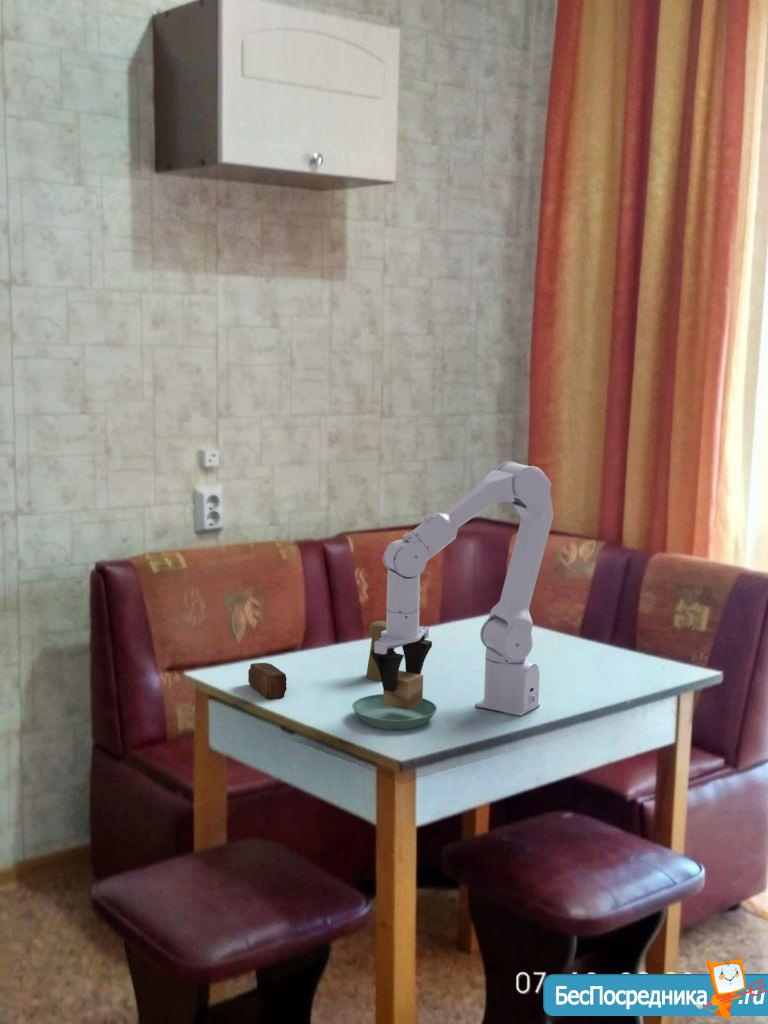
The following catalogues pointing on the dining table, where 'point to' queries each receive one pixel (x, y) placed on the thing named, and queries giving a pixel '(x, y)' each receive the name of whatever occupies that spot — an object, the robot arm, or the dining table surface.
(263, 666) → the brick
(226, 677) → the dining table surface
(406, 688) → the walnut block
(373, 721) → the saucer
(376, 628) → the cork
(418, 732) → the dining table surface
